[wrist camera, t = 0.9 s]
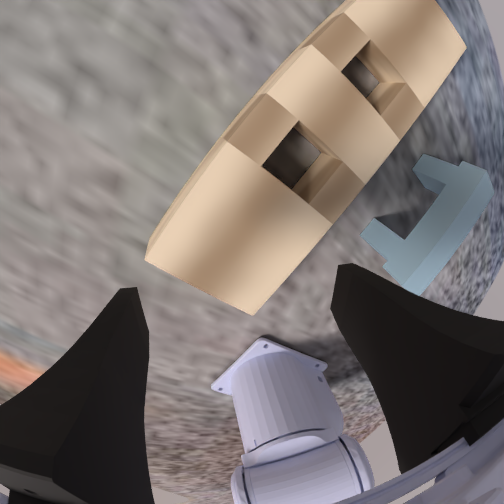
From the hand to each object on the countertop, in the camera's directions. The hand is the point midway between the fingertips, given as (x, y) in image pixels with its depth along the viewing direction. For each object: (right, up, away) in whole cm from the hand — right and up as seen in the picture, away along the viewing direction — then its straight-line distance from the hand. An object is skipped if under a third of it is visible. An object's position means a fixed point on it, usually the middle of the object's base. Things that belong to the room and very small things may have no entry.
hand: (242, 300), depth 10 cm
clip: (+12, +6, +11) cm, 18 cm away
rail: (+5, +10, +7) cm, 13 cm away
